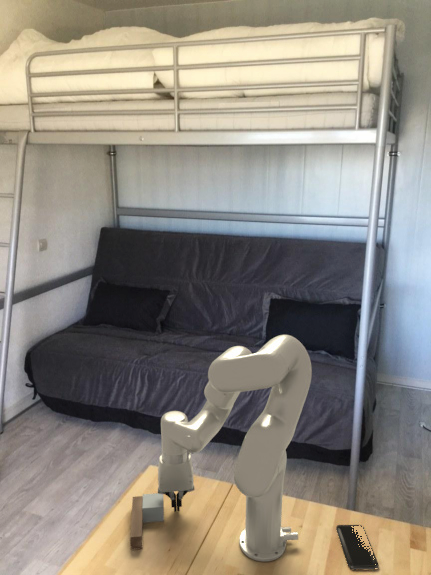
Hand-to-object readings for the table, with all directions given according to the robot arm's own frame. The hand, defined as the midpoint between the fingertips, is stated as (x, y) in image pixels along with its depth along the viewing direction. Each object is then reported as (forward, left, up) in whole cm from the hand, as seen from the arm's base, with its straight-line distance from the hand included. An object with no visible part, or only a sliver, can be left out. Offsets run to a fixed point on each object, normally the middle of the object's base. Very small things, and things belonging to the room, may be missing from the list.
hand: (176, 508), depth 146 cm
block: (+7, 0, -2) cm, 7 cm away
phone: (-48, +19, -2) cm, 51 cm away
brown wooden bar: (+11, +5, -1) cm, 12 cm away
